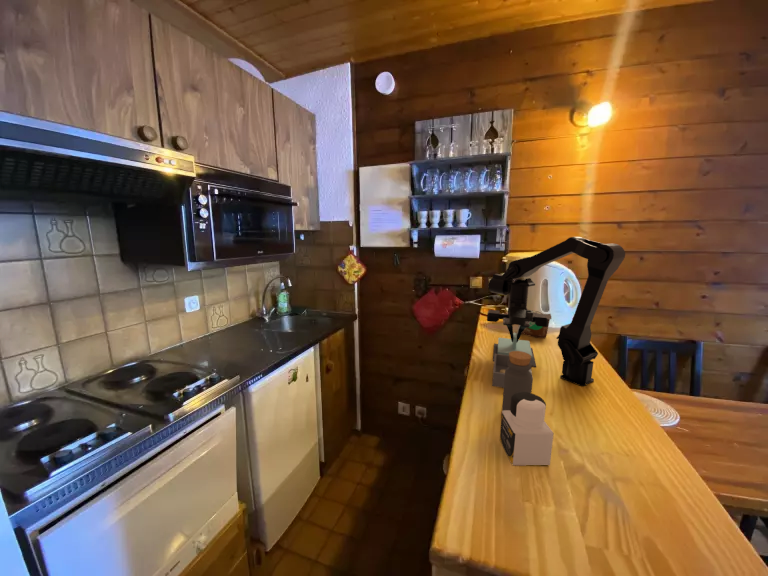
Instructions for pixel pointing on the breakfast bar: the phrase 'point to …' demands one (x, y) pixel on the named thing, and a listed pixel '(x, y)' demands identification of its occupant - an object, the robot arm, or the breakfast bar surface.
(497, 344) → the mat
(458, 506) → the breakfast bar surface
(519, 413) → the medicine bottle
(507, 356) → the tub
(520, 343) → the lid
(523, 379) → the bottle
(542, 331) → the food container
